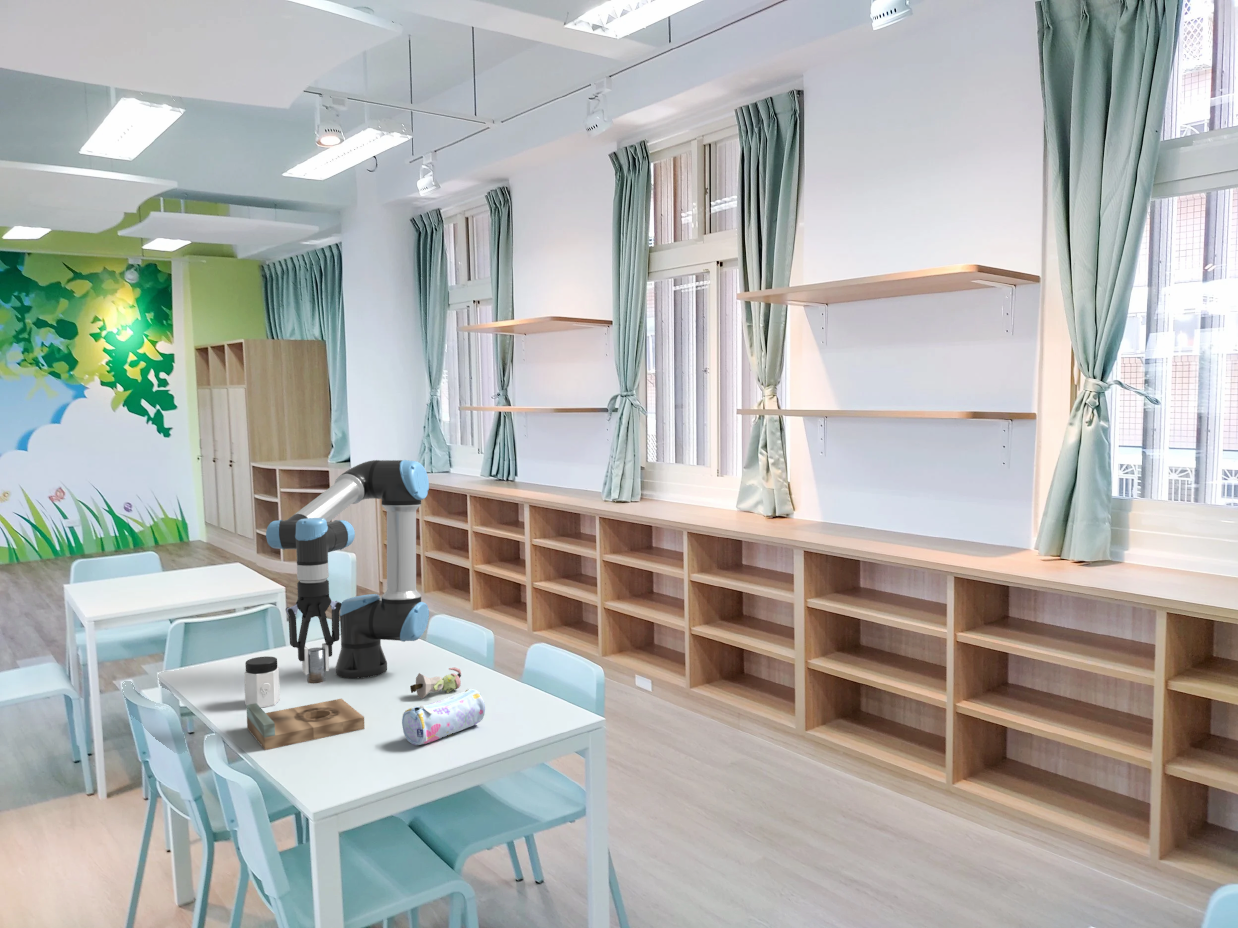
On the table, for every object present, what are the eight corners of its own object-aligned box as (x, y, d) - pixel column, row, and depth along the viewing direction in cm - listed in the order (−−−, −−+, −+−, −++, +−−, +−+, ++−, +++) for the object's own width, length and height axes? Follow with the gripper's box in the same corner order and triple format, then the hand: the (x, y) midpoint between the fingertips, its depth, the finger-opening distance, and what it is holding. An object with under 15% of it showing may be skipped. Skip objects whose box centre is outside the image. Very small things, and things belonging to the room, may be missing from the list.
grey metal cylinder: (322, 677, 234) (321, 646, 233) (327, 681, 230) (326, 650, 230) (304, 680, 231) (303, 649, 231) (309, 684, 228) (308, 652, 227)
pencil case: (419, 750, 215) (418, 711, 214) (398, 742, 220) (397, 703, 220) (488, 726, 230) (487, 690, 230) (466, 719, 236) (465, 683, 235)
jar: (248, 710, 244) (247, 666, 243) (242, 702, 251) (240, 659, 250) (283, 704, 249) (282, 661, 248) (276, 696, 256) (274, 654, 255)
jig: (341, 709, 244) (341, 687, 244) (364, 728, 229) (363, 705, 229) (247, 728, 231) (246, 704, 230) (265, 749, 216) (264, 725, 215)
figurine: (420, 698, 248) (470, 690, 257) (417, 671, 250) (466, 664, 259) (408, 702, 254) (457, 694, 263) (404, 675, 256) (453, 668, 265)
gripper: (342, 573, 237) (345, 662, 239) (273, 581, 227) (276, 673, 229) (352, 578, 231) (354, 668, 232) (281, 586, 221) (284, 681, 223)
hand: (315, 671), depth 231 cm, fingers closed on grey metal cylinder, 4 cm apart
